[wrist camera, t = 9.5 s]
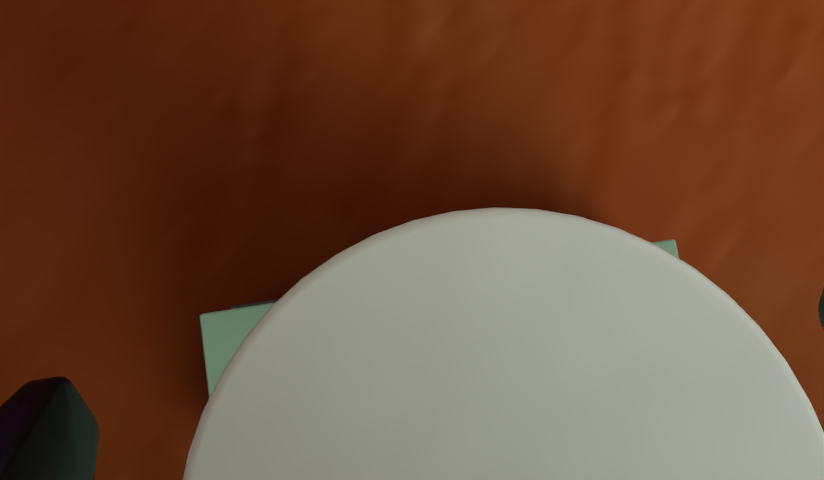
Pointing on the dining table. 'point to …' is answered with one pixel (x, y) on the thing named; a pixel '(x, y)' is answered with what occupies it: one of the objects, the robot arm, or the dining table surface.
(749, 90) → the dining table surface
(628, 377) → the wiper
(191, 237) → the dining table surface
